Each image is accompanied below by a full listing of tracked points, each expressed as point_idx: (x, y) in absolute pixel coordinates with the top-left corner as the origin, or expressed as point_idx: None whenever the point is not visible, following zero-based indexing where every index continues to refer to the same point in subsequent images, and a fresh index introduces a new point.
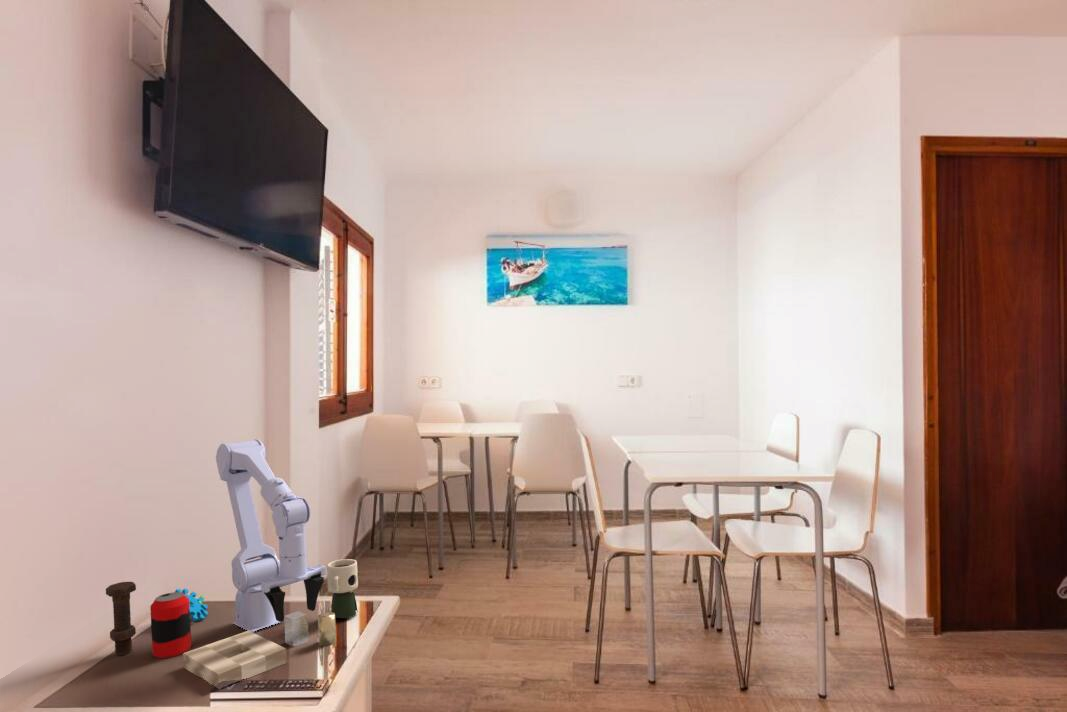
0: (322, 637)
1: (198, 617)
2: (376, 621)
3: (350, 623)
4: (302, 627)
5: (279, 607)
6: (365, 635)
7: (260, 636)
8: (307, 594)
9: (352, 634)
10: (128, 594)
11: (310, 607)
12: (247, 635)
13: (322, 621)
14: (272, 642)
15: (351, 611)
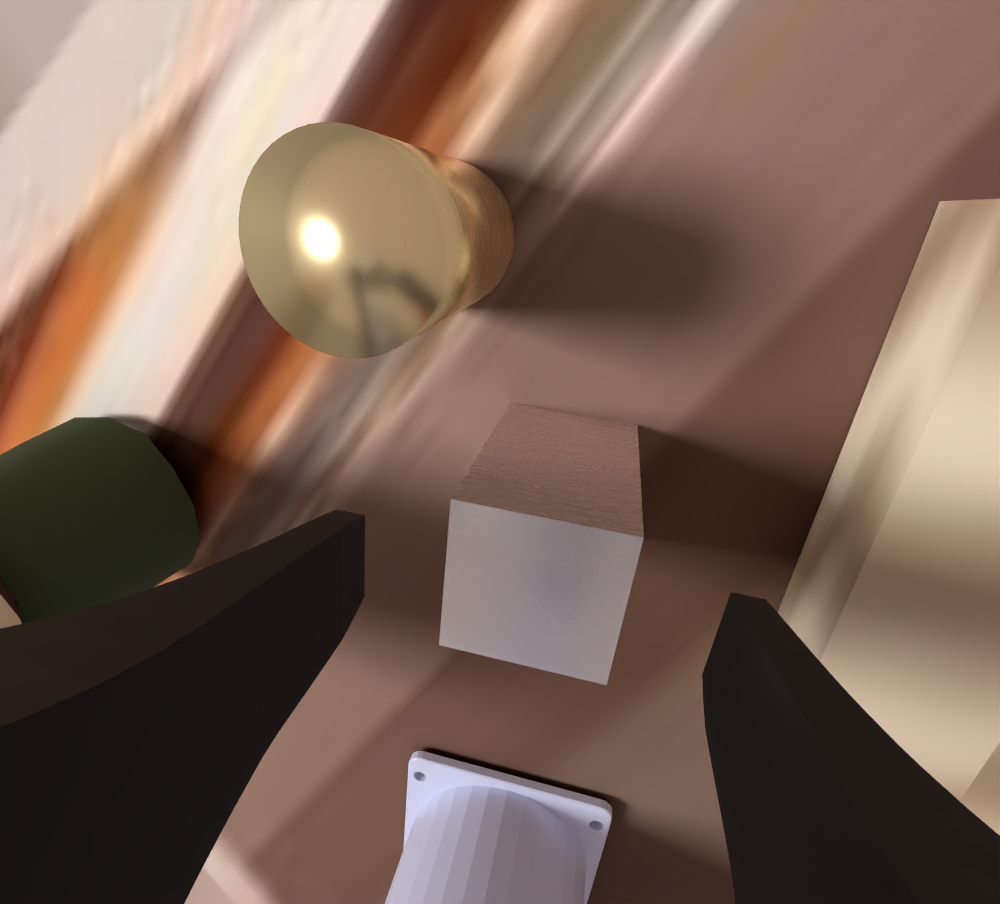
0: (495, 217)
1: None
2: (10, 205)
3: (158, 365)
4: (539, 458)
5: (898, 753)
6: (182, 30)
7: None
8: (266, 725)
9: (243, 169)
10: None
11: (349, 565)
12: None
13: (448, 204)
14: (912, 475)
15: (72, 434)
